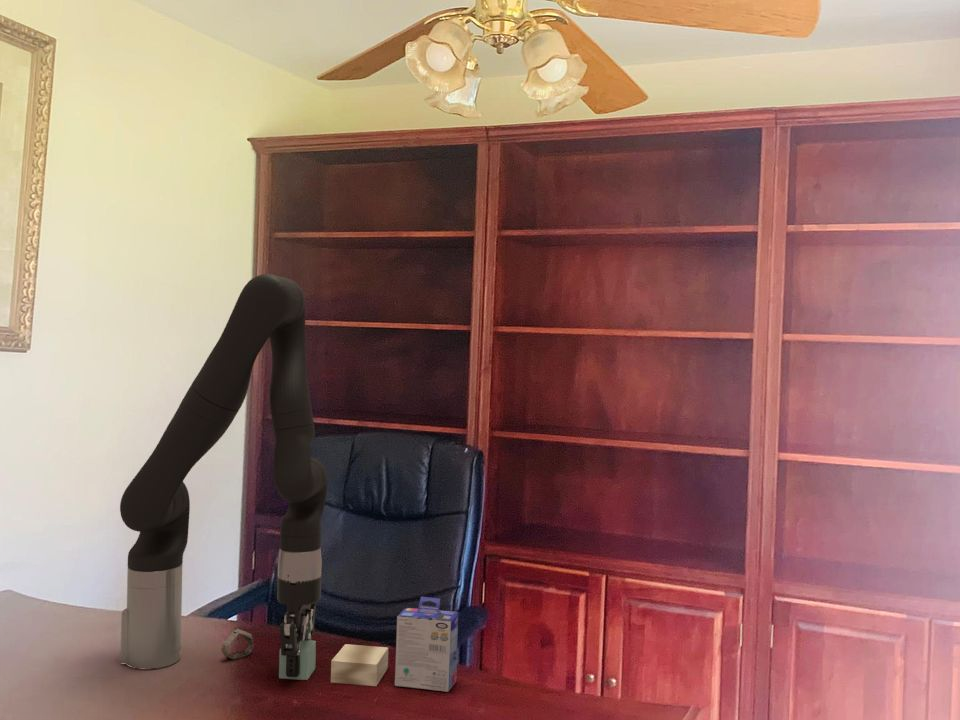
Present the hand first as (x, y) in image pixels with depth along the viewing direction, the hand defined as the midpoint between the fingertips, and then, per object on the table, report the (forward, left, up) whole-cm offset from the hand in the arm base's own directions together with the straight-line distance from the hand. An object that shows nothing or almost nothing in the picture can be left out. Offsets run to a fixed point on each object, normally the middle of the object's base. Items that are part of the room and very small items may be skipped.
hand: (297, 669), depth 144 cm
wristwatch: (-13, +6, -1) cm, 14 cm away
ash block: (+11, +1, -1) cm, 11 cm away
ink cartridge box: (+23, -1, -1) cm, 23 cm away
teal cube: (0, 0, -1) cm, 1 cm away
